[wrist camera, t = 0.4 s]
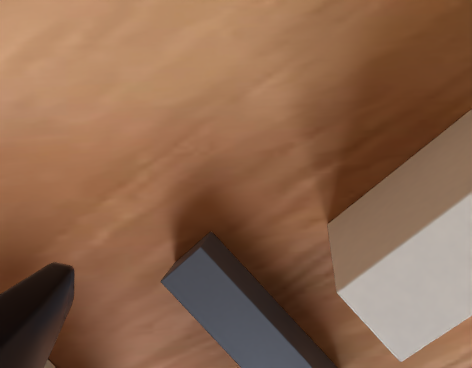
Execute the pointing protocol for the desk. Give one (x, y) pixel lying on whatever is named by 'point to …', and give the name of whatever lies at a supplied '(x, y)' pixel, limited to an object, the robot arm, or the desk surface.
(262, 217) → the desk surface
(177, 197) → the desk surface
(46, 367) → the cream book
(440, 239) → the plain white rectangular box
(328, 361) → the dark grey square prism
